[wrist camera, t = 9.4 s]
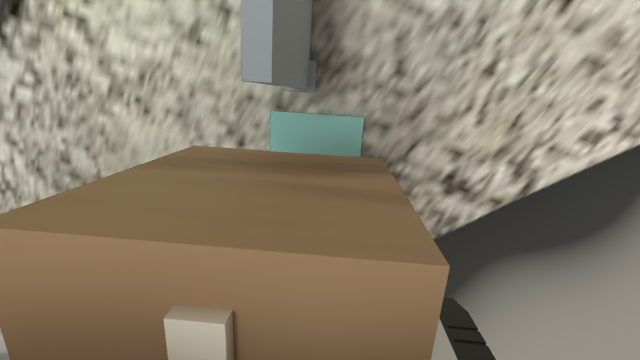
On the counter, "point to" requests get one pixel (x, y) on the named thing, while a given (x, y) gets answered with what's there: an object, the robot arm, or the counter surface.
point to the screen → (277, 43)
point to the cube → (223, 263)
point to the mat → (316, 133)
